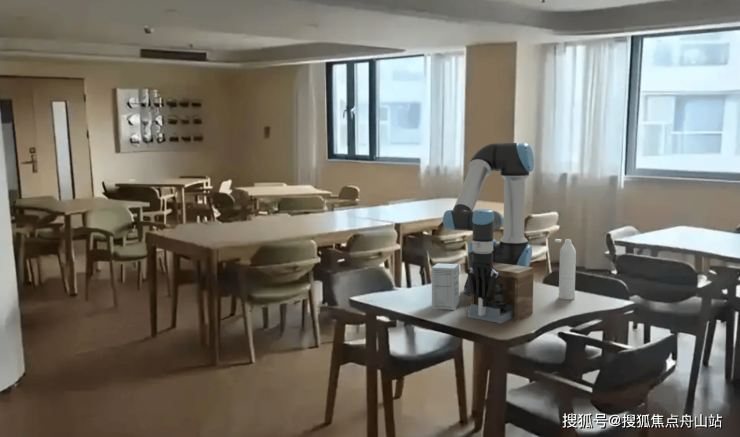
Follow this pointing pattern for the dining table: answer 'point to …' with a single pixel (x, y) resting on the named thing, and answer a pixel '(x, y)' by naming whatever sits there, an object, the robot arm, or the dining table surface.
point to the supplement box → (445, 286)
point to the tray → (492, 313)
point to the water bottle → (567, 270)
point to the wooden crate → (514, 288)
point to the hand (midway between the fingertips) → (481, 314)
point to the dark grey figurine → (499, 298)
